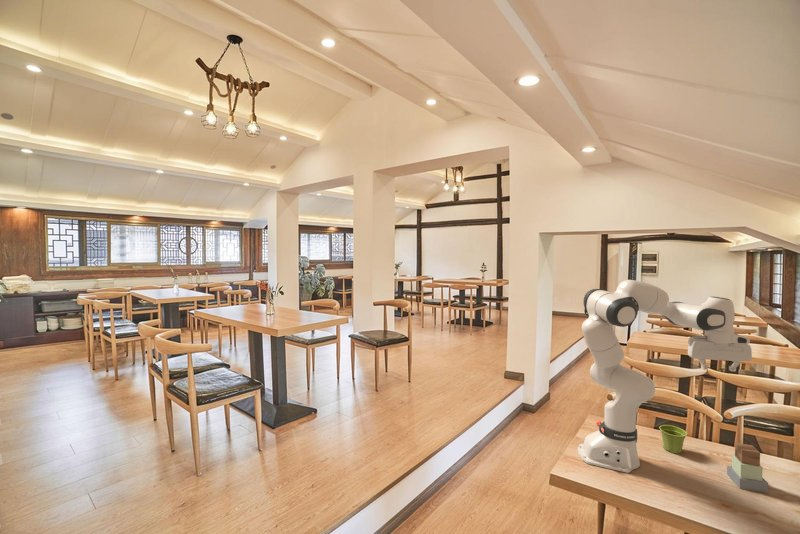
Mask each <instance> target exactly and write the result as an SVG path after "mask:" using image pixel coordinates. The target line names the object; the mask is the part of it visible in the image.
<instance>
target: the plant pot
mask: <svg viewBox="0 0 800 534" xmlns="http://www.w3.org/2000/svg"><path fill="white" fill-rule="evenodd" d="M659 430H660V433H661V438H662V446H663V448H664V450H665V451H667V452H669V453H671V454H672V453H673V454H680V453H682V451H683V447H684V446H683V445H684V441H685V439H686V437H687V436H688V433H687V431H686V430H684V429H682V428H680V427H678V426H676V425H670V424H662V425H660V426H659Z"/></svg>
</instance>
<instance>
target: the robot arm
mask: <svg viewBox="0 0 800 534" xmlns="http://www.w3.org/2000/svg"><path fill="white" fill-rule="evenodd" d="M669 297H670V296H669V294H668V293H667V292H666V291H665V290H664V289H662V288H661V287H658V286H655V285H653V284H650V283H649V282H645V281H644V282H643V281H639V280H635V279H634V280H633V279H625V280H622V281H621V282H620V283H619V284H618V286H617V287H616V290H615V291H614V292H610V291H607V290H605V289H601V288H592V289H590V290H588V291H587V292H586V293H585V294H584V298H583V307H584V314H585V315H586V316H587V317H588V318H586V319H585V320H583V322H582V324H581V333H582V336H583V338H584V339H583V340H584V341H585V344H586V346H587V348H588V350H589V352H590V354H591V357H592V358H593V360H594V361H593V362H594V363H592V364H591V366H590V369H589V375H590V379H591V380H592V381H593V382H594V383H596V384H597V385H599V386H601V387H602V388H604V389H607V390H610V391H611V392H614V393H615V398H614V399H611V400H608V401H607V402H606V403H605V405H604V417H603V418H604V421H603V422H601V420H599V419H597V420H595V424H596V426H597V427H598V430H595V431H593V432H591V433H589V434H587V435H586V436H585V438H584V440H583V443H579V445H578V446H577V453H578V456H579V457H580V458H581V460H582V461H583V462H585V463H586V464H587V465H592V466H597V467H601V468H605V469H609V470H613V471H619V472H624V473H627V474H629V473H631V472H632V471H633V470H636V469H639V468H640V466H641V461H640V459H639V453H638V448H637V442H638V429H637V415H638V409H639V408H640V406H641V405H642V404H643V403H646V402H648V401H650V400H651V399H653V397H654V396H655V394H656V385H655V383H654V381H653V379H652V378H650V377H649V376H647V375H645V374H644V373H642V372H640V371H637V370H634V369H631V368H628V367H626V366H623V365H622V364H621V362H623V360H624V356H625V353H624V350H623V348H622V346H621V344H620V342H619V340H618V338H617V335H616V334H615V332H614V327H613V326H616V327H621V328H623V327H624V328H626V327H628V326H630V325H632V324H633V323H634V321H635V320H636V319H637V316H638V314H639V311H640V312H643V313H647V314H652V315H661V316H663V317H664V318H665V320H667V321H668V322H669V323H670V324H672V325H675V326H681V327H686V328H688V329H689V328H690V329H695V330H700V331H704V335H692V336H690V337H689V338H688V347H687V355H688V356H689V358H691V359H695V360H696V359H697V361H698V362H699V364H700V368H701V369H702V370H705V371H706V370H707V371H708V368H709V366H708V365H707V364H705V360H713V361H714V360H717V361H731V362H733V363H732V364H731V365H728V371H730V372H736V371H737V368H738V366H739V365H740V364H741V363H740V362H750V361H751V360H752V358H753V353H752V347H751V345H750V343H751V340H750V338H749V337H746V336H744V335H741V334H738V333H735V327H734V322H735V315H736V314H735V305H734V301H732V299H729V298H725V297H719V296H708V297H707V298H706V301H704V302H703V303H700V304H692V303H686V302H681V301H672V302H671V301H670V298H669Z"/></svg>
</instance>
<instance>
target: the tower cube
mask: <svg viewBox="0 0 800 534" xmlns="http://www.w3.org/2000/svg"><path fill="white" fill-rule="evenodd" d="M731 466H732V468H733V470H734V471H735V472H736V473H737V474H738V475H739V476H740V477H741V478H746V479H752V480H758V481H762V478H763V470H764V469H763V466H761V465H760V466H755V465H749V464H742V463H741V462H740V461H739V460H738V459H737V458H736V457H735V454H732V455H731Z"/></svg>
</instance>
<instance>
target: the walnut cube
mask: <svg viewBox="0 0 800 534" xmlns="http://www.w3.org/2000/svg"><path fill="white" fill-rule="evenodd" d="M734 455H735V457H736V458H737V459H738V460H739V461H740V462H741V463H742V464H749V465H755V466H761V452H760V451H759V450H758V449H757V448H756V447H755V446H754V445H753V444H745V443H740V442H739V443H738V442H735V443H734Z"/></svg>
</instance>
